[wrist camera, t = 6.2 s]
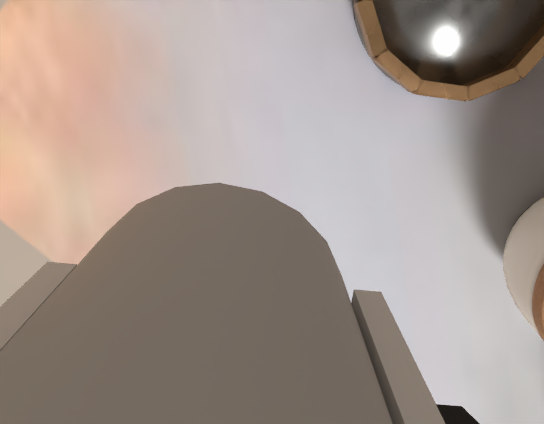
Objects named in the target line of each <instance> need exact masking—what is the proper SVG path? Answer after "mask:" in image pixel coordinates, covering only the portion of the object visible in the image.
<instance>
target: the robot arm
mask: <svg viewBox="0 0 544 424" xmlns="http://www.w3.org/2000/svg"><path fill="white" fill-rule="evenodd" d="M76 266H77V264H66V263H54V262H47V263H46V264H45V265H44V266H43V267H42V268H41V269H40V270H39V271H37V273H35V274H34V275H33V277H31V278H30V279H29V280H28V281H27V282H26V283H25V284H24V285H23V286H22V287H21V288H20V289H19V290H18V291H16V292H15V293H14V294H13V295H12V296H11V297H10V298H9V299H8V300H7V301H6V302H5V303H4V304H3V305H2V306H1V307H0V351H1V350H2V349H3V348H4V347H5V345H6V344H7V343H8V342H9V341H10V340H11V339H12V338H13V337H14V335H15V334H16V333H17V332H18V331H19V330H20V329H21V328H22V326H23V325H24V324H25V323H26V322H27V321H28V320H29V319H30V318H31V316H32V315H33V314H34V313H35V312H36V311H37V310H38V309H39V307H40V306H41V305H42V304H43V303H44V302H45V301H46V300H47V299H48V297H49V296H50V295H51V294H52V293H53V292H54V291H55V290H56V288H57V287H58V286H59V285H60V284H61V283H62V282H63V281H64V280H65V278H66V277H67V276H68V275H69V274H70V273H71V272H72V271H73V269H74V268H75V267H76ZM351 304H352V307H353V310H354V313H355V316H356V319H357V322H358V325H359V328H360V330H361V333H362V336H363V339H364V342H365V345H366V348H367V351H368V353H369V356H370V359H371V362H372V365H373V368H374V371H375V374H376V377H377V379H378V382H379V385H380V388H381V391H382V394H383V397H384V400H385V402H386V405H387V408H388V411H389V414H390V417H391V420H392V423H393V424H479V423H478V422H477V421H476V420H475V419H474V418H473V417H472V416H471V415H470V414H469V413H468V412H467V411H466V410H465V409H464V408H463V407H462V406H450V405H437V404H436V403H435V401H434V399H433V397H432V395H431V393H430V391H429V389H428V387H427V385H426V383H425V381H424V379H423V377H422V375H421V373H420V371H419V369H418V367H417V365H416V362H415V360H414V358H413V356H412V354H411V352H410V350H409V348H408V346H407V344H406V342H405V340H404V338H403V336H402V334H401V332H400V330H399V328H398V326H397V324H396V322H395V319H394V317H393V315H392V313H391V311H390V309H389V307H388V305H387V303H386V301H385V299H384V297H383V295H382V293H381V292H375V291H364V290H354V292H353V297H352V303H351Z"/></svg>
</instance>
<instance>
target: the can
mask: <svg viewBox="0 0 544 424" xmlns="http://www.w3.org/2000/svg"><path fill="white" fill-rule="evenodd" d="M0 424H393V423H392V420H391V417H390V414H389V411H388V408H387V405H386V402H385V400H384V397H383V394H382V391H381V388H380V385H379V382H378V379H377V377H376V374H375V371H374V368H373V365H372V362H371V359H370V356H369V353H368V351H367V348H366V345H365V342H364V339H363V336H362V333H361V330H360V328H359V325H358V322H357V319H356V316H355V313H354V310H353V307H352V304H351V302H350V299H349V296H348V293H347V290H346V287H345V284H344V281H343V278H342V276H341V273H340V271H339V269H338V266H337V264H336V262H335V259H334V257H333V255H332V252H331V250H330V248H329V246H328V243H327V241H326V240H325V239H324V238H323V237H322V236H321V235H320V234H319V233H318V232H317V230H316V229H315V228H314V227H313V226H312V225H311V224H310V223H309V222H308V221H307V220H306V219H305V218H304V216H303V215H302V214H301V213H300V212H298V211H296V210H295V209H293V208H291V207H289V206H287V205H286V204H284V203H282V202H280V201H278V200H276V199H275V198H273V197H271V196H269V195H267V194H266V193H264V192H261V191H256V190H252V189H247V188H242V187H237V186H232V185H227V184H222V183H213V184H203V185H193V186H183V187H175V188H173V189H170V190H168V191H166V192H163V193H161V194H159V195H157V196H154V197H152V198H150V199H148V200H145V201H143V202H141V203H138V204H136V205H135V206H134V207H133V208H132V209H131V210H130V211H129V212H128V213H127V214H126V215H125V216H124V217H122V218H121V219H120V220H119V221H118V222H117V223H116V224H115V225H114V226H113V227H112V228H111V229H110V230H109V231H107V233H106V234H105V235H104V236H103V237H102V238H101V239H100V240H99V242H98V243H97V244H96V245H95V246H94V247H93V248H92V249H91V250H90V252H89V253H88V254H87V255H86V256H85V257H84V258H83V259H82V261H81V262H80V263H79V264H78V265H77V266H76V267H75V268H74V269H73V271H72V272H71V273H70V274H69V275H68V276H67V277H66V278H65V280H64V281H63V282H62V283H61V284H60V285H59V286H58V287H57V288H56V290H55V291H54V292H53V293H52V294H51V295H50V296H49V297H48V299H47V300H46V301H45V302H44V303H43V304H42V305H41V306H40V307H39V309H38V310H37V311H36V312H35V313H34V314H33V315H32V316H31V318H30V319H29V320H28V321H27V322H26V323H25V324H24V325H23V326H22V328H21V329H20V330H19V331H18V332H17V333H16V334H15V335H14V337H13V338H12V339H11V340H10V341H9V342H8V343H7V344H6V345H5V347H4V348H3V349H2V350H1V351H0Z"/></svg>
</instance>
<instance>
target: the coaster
mask: <svg viewBox="0 0 544 424" xmlns="http://www.w3.org/2000/svg"><path fill="white" fill-rule="evenodd" d="M353 10H354V18H355V22H356V26H357V30H358V34H359V36H360V39H361V41H362V44H363V46H364V48H365V50H366V51H367V53H368V55H369V57H370V58H371V59H372V61H373V62H374V63H375V65H376V66H377V67H378V68H379V69H380V70H381V71H382V72H383V73H384V74H385V75H386V76H387V77H389V78H390V79H391V80H393V81H394V82H395V83H397V84H399V85H401V86H402V87H403V88H405V89H406V90H407V91H408V92H411V93H413V94H417V95H424V96H431V97H438V98H446V99H453V100H460V101H466V100H468V101H471V100H473V99H476V98H478V97H481V96H483V95H485V94H488V93H490V92H493V91H495V90H498V89H500V88H503V87H505V86H508V85H510V84H513V83H515V82H518V81H520V79H519V78H524V77H525V76H526V75H527V74H528V73H529V71H530V70H531V69H532V68H533V67H534V66H535V65H536V64H537V63H538V62H539V61H540V59H541V58H542V57H543V56H544V0H353Z"/></svg>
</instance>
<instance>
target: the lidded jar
mask: <svg viewBox="0 0 544 424" xmlns="http://www.w3.org/2000/svg"><path fill="white" fill-rule="evenodd" d="M503 271H504V275H505V280H506V284H507V288H508V290H509V292H510V294H511V296H512V298H513V300H514V302H515V304H516V306H517V307H518V309H519V310H520V312H521V313H522V314H523V316H524V317H525V319H526V320H527V321H528V323H529V324H530V325H531V326H532V327H533V328H534V330H535V331H536V332H537V333H538V334H539V335H540V336H541V338H542V339H543V340H544V197H543V198H541V199H540V200H538V201H537V202H535V203H534V204H533V205H532V206H531V207H529V208H528V209H527V210H526V211H525V212H524V213H523V214H522V215H521V217H520V218H519V219H518V220H517V222H516V223H515V225H514V226H513V228H512V230H511V232H510V234H509V236H508V238H507V242H506V245H505V250H504V257H503Z"/></svg>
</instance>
